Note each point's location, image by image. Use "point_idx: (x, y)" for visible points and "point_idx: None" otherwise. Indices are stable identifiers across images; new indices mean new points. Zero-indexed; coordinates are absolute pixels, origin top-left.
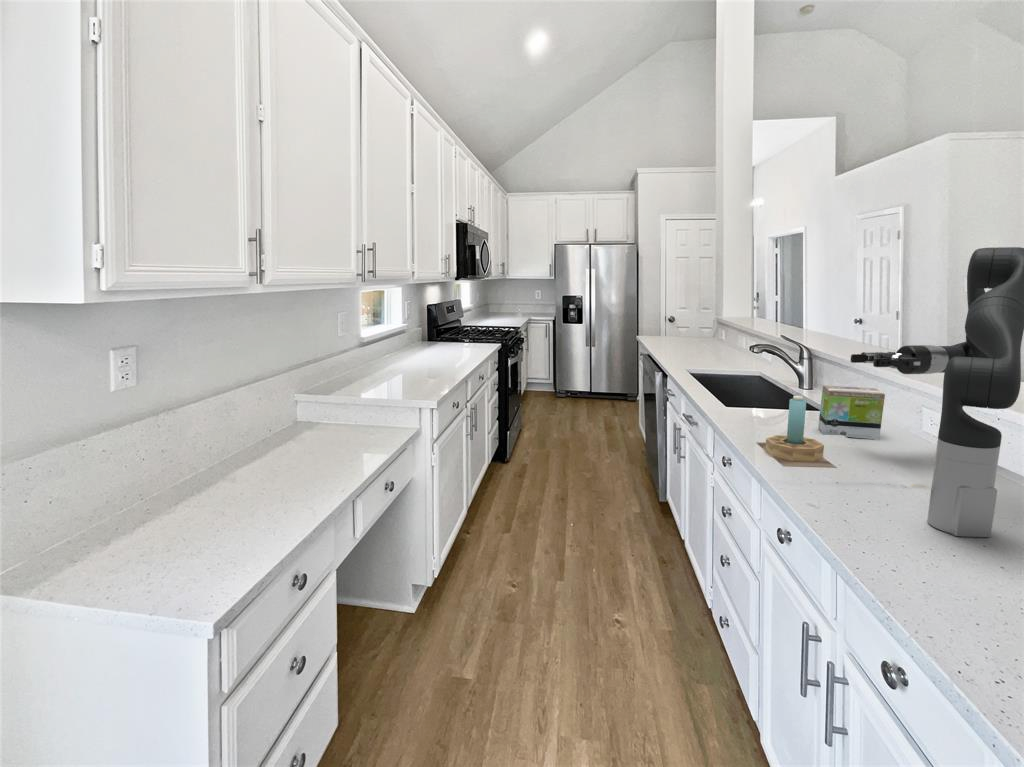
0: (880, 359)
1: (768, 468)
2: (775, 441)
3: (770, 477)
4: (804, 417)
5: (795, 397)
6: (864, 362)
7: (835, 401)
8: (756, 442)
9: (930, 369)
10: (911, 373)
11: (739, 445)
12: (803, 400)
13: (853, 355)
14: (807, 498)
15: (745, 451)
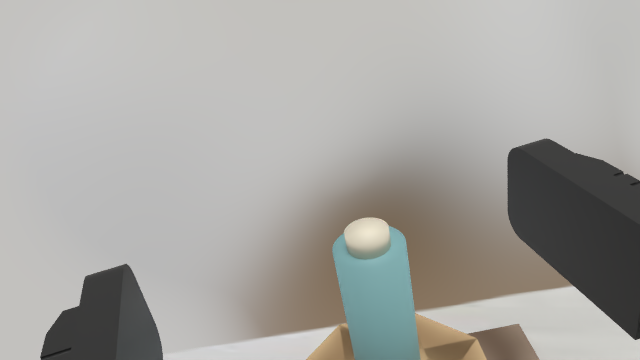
0: (84, 318)
1: (267, 355)
2: None
3: (189, 355)
4: (360, 329)
5: (352, 225)
6: (626, 331)
7: None
8: (518, 325)
9: None
10: None
11: (506, 297)
12: (367, 260)
13: (512, 154)
14: None
15: (437, 310)
